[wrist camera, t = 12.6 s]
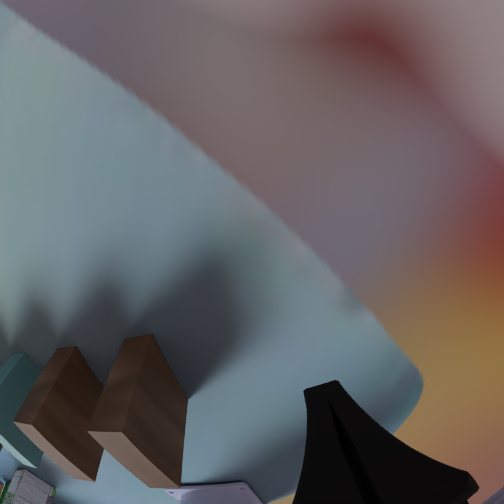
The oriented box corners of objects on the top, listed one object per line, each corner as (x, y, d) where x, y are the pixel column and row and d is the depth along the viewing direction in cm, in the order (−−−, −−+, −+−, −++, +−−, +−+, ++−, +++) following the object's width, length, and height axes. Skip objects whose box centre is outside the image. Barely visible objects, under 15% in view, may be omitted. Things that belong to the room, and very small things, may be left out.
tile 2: (76, 346, 13) (31, 424, 7) (117, 405, 15) (94, 481, 9) (57, 348, 13) (12, 421, 7) (98, 406, 15) (73, 477, 9)
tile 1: (152, 333, 13) (121, 432, 7) (188, 399, 15) (180, 488, 9) (124, 338, 13) (86, 431, 7) (163, 402, 15) (149, 487, 9)
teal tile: (50, 405, 15) (23, 464, 9) (12, 353, 13) (-29, 411, 7) (63, 405, 15) (37, 468, 9) (24, 352, 13) (-18, 414, 7)
